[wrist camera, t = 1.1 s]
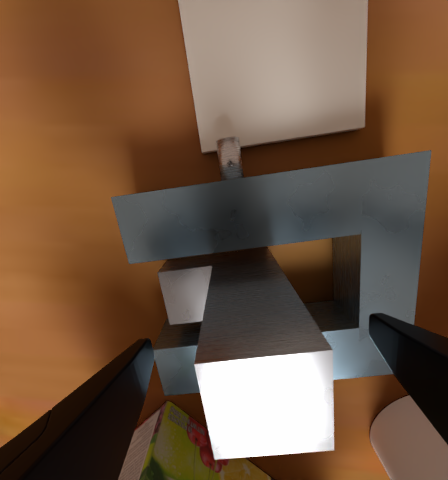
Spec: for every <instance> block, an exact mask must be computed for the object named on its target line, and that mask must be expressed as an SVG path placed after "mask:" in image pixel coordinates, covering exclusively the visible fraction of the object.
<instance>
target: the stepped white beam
mask: <svg viewBox="0 0 448 480" xmlns="http://www.w3.org/2000/svg"><path fill="white" fill-rule="evenodd" d="M158 277H159V281H160V285H161V289H162V294H163V298H164V302H165V306H166V310H167V315H168V319H169V323H170V325H173V324H182V323H191V322H200V321H202V325H201V330H200V335H199V341H198V346H197V351H196V357H195V362H194V366H195V371H196V375H197V380H198V385H199V389H200V394H201V399H202V403H203V408H204V413H205V417H206V422H207V426H208V431H209V436H210V440H211V445H212V450H213V454H214V459H215V460H217V459H230V458H243V457H256V456H268V455H281V454H294V453H306V452H319V451H332V450H334V401H333V350H332V348H331V346H330V345H329V343H328V342H327V340H326V339H325V337H324V335H323V334H322V332H321V331H320V329H319V328H318V326H317V324H316V323H315V321H314V320H313V318H312V317H311V315H310V313H309V312H308V310H307V309H306V307H305V306H304V304H303V302H302V301H301V299H300V298H299V296H298V295H297V293H296V291H295V290H294V288H293V287H292V285H291V284H290V282H289V280H288V279H287V277H286V276H285V274H284V273H283V271H282V269H281V268H280V266H279V265H278V263H277V262H276V260H275V258H274V257H273V255H272V254H271V252H270V250H269V249H268V247H261V248H254V249H246V250H238V251H230V252H223V253H215V254H207V255H200V256H192V257H184V258H176V259H169V260H167V261H166V263H165V264H164V265H163V266H162V268H161V269H160V270H159V272H158Z"/></svg>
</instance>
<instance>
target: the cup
mask: <svg viewBox="0 0 448 480" xmlns="http://www.w3.org/2000/svg"><path fill="white" fill-rule="evenodd" d="M370 441H371V444H372V447H373V448H374V450H375V452H376V454H377V456H378V457H379V459H380V461H381V463H382V465H383V467H384V468H385V470H386V472H387V474H388V476H389V477H390V479H391V480H448V445H447V444H446V442H445V441H444V440H443V438H442V437H441V436H440V434H439V433H438V432H437V430H436V429H435V428H434V427H433V425H432V424H431V423H430V421H429V420H428V419H427V417H426V416H425V415H424V413H423V412H422V411H421V410H420V408H419V407H418V406H417V404H416V403H415V402H414V400H413V399H412V398H411V396H410V395H408V396H405V397H403V398H400V399H398V400H396V401H394V402H393V403H391V404H390V405H388V406H387V407H386V408H384V409H383V410H382V411H381V412H380V413H379V414H378V415H377V417H376V418H375V420H374V422H373V424H372V426H371V429H370Z"/></svg>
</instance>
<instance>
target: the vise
mask: <svg viewBox="0 0 448 480" xmlns="http://www.w3.org/2000/svg"><path fill="white" fill-rule="evenodd" d="M216 146H217V153H218V160H219V167H220V174H221V181H219V182H212V183H205V184H198V185H191V186H184V187H178V188H171V189H164V190H157V191H150V192H144V193H137V194H130V195H123V196H116V197H111V199H112V203H113V206H114V210H115V214H116V217H117V221H118V225H119V229H120V232H121V236H122V240H123V243H124V247H125V251H126V254H127V258H128V262H129V264H133V263H141V262H149V261H157V260H164V259H172V258H180V257H188V256H195V255H203V254H211V253H218V252H226V251H234V250H242V249H249V248H257V247H265V246H273V245H280V244H288V243H296V242H304V241H311V240H319V239H327V238H333V300H329V301H320V302H311V303H303V304H304V306H305V307H306V309H307V310H308V312H309V313H310V315H311V317H312V318H313V320H314V321H315V323H316V324H317V326H318V328H319V329H320V331H321V332H322V334H323V335H324V337H325V339H326V340H327V342H328V343H329V345H330V346H331V348H332V350H333V380H336V379H346V378H357V377H367V376H378V375H388V374H393V372H392V371H391V369H390V368H389V366H388V364H387V363H386V361H385V360H384V358H383V357H382V355H381V353H380V352H379V350H378V349H377V347H376V346H375V344H374V342H373V341H372V339H371V338H370V335H369V316H370V314H372V313H384V314H386V315H389V316H392V317H394V318H397V319H399V320H402V321H405V322H407V323H410V324H412V325H414V320H415V310H416V300H417V290H418V279H419V269H420V259H421V249H422V239H423V229H424V219H425V209H426V199H427V189H428V178H429V168H430V158H431V150H430V151H423V152H416V153H409V154H403V155H396V156H389V157H382V158H375V159H368V160H362V161H355V162H348V163H341V164H334V165H328V166H321V167H314V168H307V169H300V170H293V171H287V172H280V173H273V174H266V175H259V176H253V177H246V178H244V177H243V168H242V159H241V150H240V141H239V137H226V138H222V139H219V140H217V141H216ZM201 325H202V321H200V322H191V323H182V324H173V325H170V323H169V319H166V321H165V324H164V326H163V328H162V330H161V332H160V335H159V337H158V339H157V341H156V343H155V346H154V348H153V351H154V358H155V362H156V365H157V369H158V373H159V376H160V380H161V384H162V387H163V391H164V395H165V396H168V395H179V394H189V393H200V389H199V385H198V380H197V375H196V371H195V366H194V362H195V357H196V351H197V346H198V341H199V335H200V330H201Z"/></svg>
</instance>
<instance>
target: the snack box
mask: <svg viewBox="0 0 448 480" xmlns="http://www.w3.org/2000/svg"><path fill="white" fill-rule="evenodd" d="M118 480H274V479H272V478H271V477H270V476H268V475H267V474H266V473H264V472H263V471H262V470H260V469H259V468H258V467H256V466H255V465H254V464H252V463H251V462H250V461H249V460H247V459H246V458H245V457H243V458H230V459H217V460H215V459H214V454H213V450H212V445H211V440H210V436H209V431H208V430H207V429H206V428H205V427H204V426H202V425H201V424H200V423H198V422H197V421H196V420H194V419H193V418H192V417H190V416H189V415H188V414H186V413H185V412H184V411H182V410H181V409H180V408H178V407H177V406H176V405H174V404H173V403H172V402H170V401H166V402H165V403H164V405H162V406H161V407H160V408H159V409H158V410H156V411H155V412H154V413H153V414H152V415H151V416H150V417H148V418H147V419H146V420H145V421H144V422H143V423H142V424H141V425H139V426H138V427H137V428H136V429H135V431H134V434H133V437H132V440H131V443H130V446H129V449H128V452H127V455H126V458H125V461H124V464H123V467H122V470H121V473H120V476H119V479H118Z"/></svg>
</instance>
